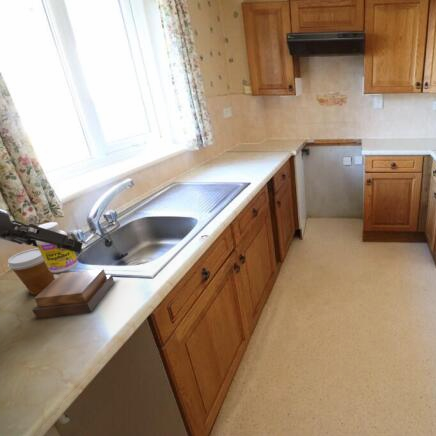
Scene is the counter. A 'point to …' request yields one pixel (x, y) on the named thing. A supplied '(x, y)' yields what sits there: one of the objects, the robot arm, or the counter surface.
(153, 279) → the counter surface
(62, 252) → the supplement bottle
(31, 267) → the disposable coffee cup
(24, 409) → the counter surface
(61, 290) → the board stack
